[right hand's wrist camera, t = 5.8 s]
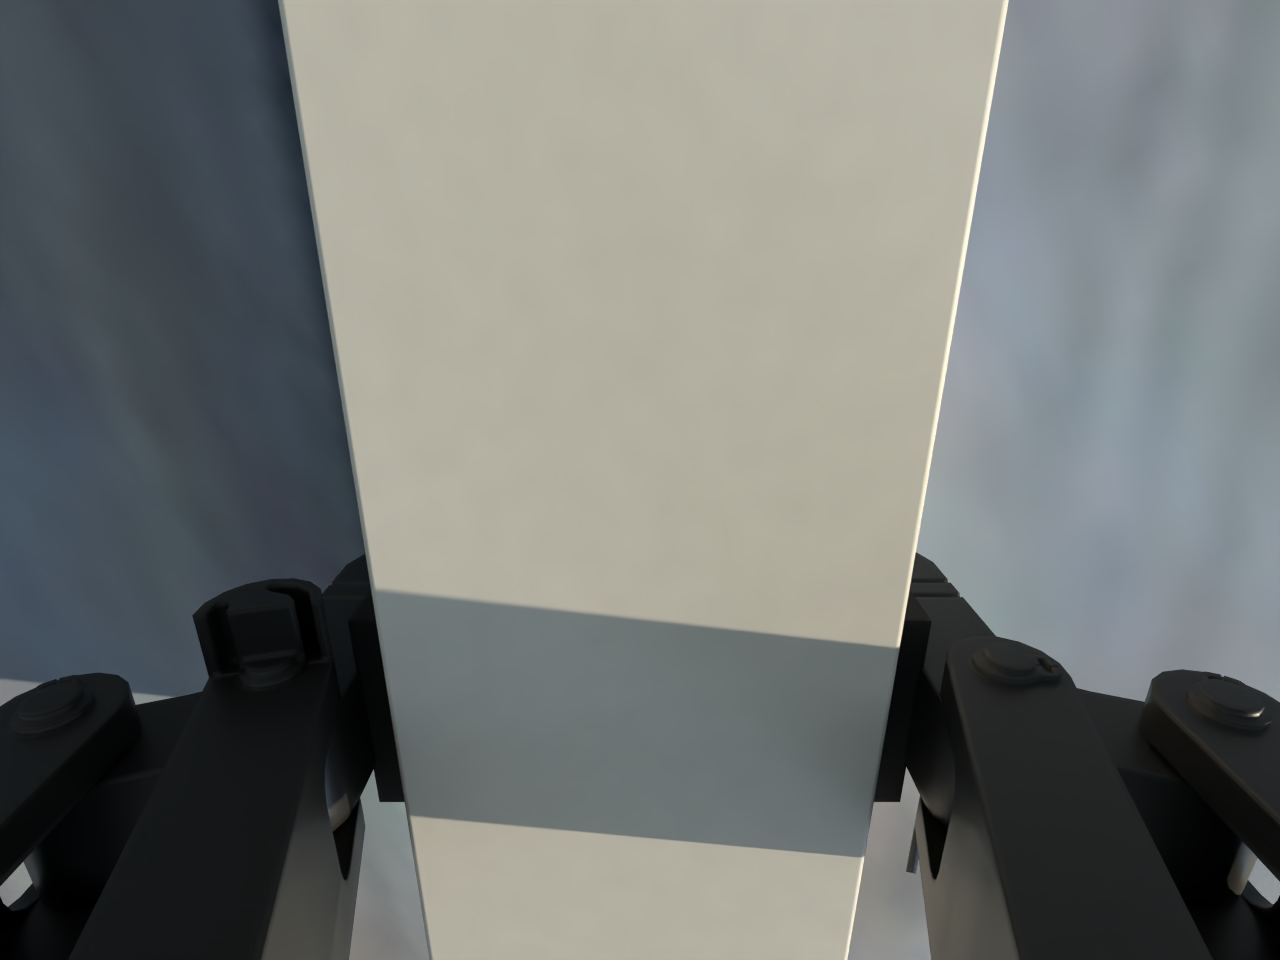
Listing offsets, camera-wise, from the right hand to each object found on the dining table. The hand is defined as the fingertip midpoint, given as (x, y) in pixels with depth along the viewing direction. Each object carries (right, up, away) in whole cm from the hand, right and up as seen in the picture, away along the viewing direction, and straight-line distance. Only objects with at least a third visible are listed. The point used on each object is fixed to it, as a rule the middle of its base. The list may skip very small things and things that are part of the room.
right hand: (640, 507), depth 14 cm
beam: (0, +23, -8) cm, 25 cm away
